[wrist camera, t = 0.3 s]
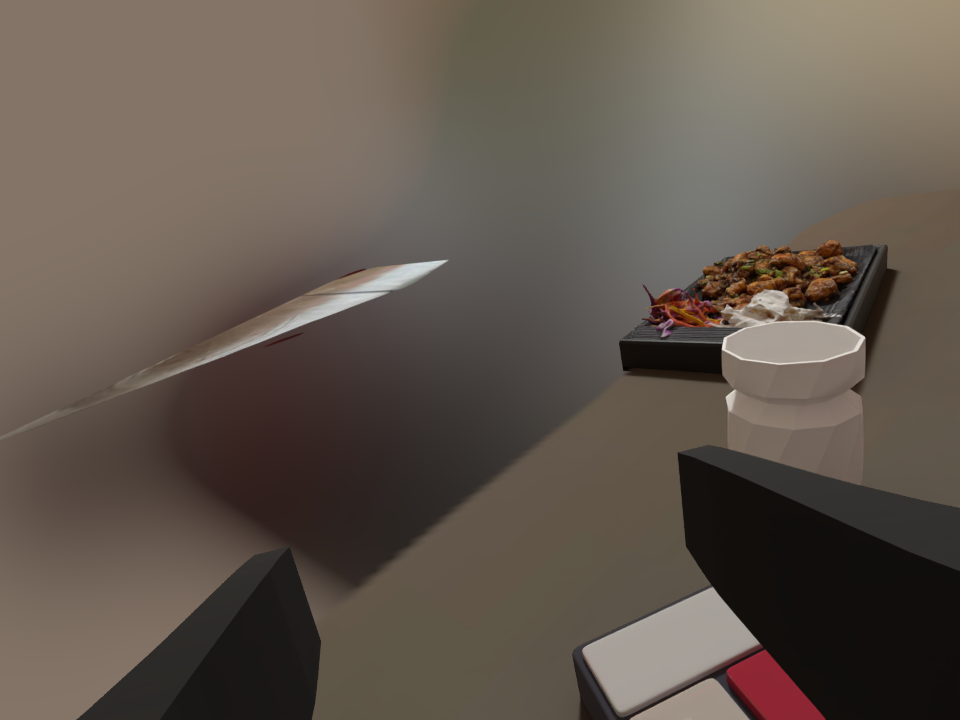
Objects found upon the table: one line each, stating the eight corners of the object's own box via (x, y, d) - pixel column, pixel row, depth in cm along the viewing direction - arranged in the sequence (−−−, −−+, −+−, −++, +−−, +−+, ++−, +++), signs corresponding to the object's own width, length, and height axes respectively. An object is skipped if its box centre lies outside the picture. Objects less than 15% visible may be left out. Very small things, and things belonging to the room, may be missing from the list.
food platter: (843, 387, 52) (844, 291, 49) (623, 371, 69) (612, 298, 65) (886, 271, 82) (888, 207, 79) (726, 279, 99) (722, 226, 96)
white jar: (807, 444, 44) (805, 312, 40) (894, 502, 35) (902, 342, 32) (709, 468, 44) (698, 338, 40) (773, 532, 35) (767, 375, 32)
